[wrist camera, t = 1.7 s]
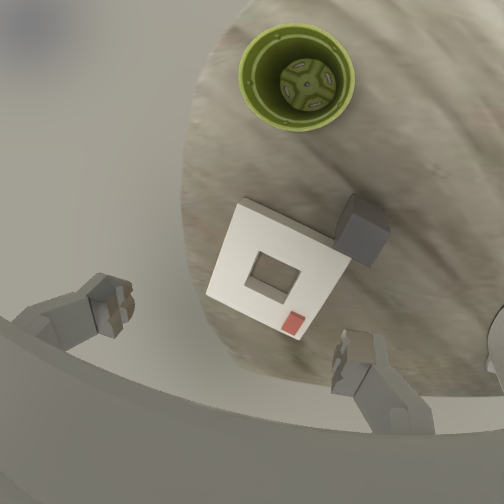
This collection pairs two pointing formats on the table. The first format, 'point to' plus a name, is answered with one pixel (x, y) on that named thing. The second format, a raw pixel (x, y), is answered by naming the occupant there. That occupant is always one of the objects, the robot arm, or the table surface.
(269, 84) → the plant pot
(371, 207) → the plug
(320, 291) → the socket plate
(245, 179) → the table surface
